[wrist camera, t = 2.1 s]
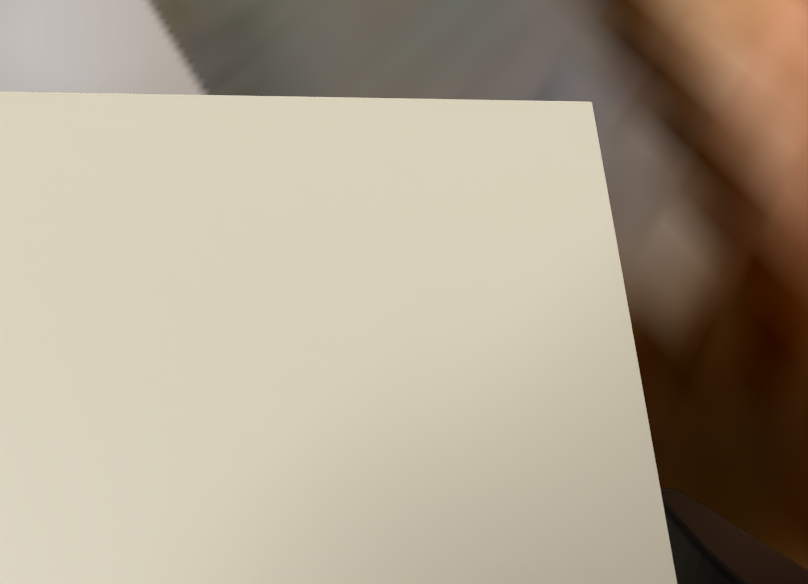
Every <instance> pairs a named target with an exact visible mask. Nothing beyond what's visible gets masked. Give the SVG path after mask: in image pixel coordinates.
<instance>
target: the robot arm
mask: <svg viewBox="0 0 808 584" xmlns="http://www.w3.org/2000/svg"><path fill="white" fill-rule="evenodd" d="M660 489H661V495H662V500H663V506H664V512H665V517H666V523H667V529H668V534H669V540H670V545H671V551H672V557H673V562H674V568H675V574H676V579H677V584H808V570H807V569H805V568H804V567H802V566H801V565H799V564H797V563H796V562H794V561H793V560H791V559H789V558H788V557H786V556H785V555H783V554H781V553H780V552H778V551H777V550H775V549H773V548H772V547H770V546H769V545H767V544H765V543H764V542H762V541H760V540H759V539H757V538H756V537H754V536H752V535H751V534H749V533H748V532H746V531H744V530H743V529H741V528H740V527H738V526H736V525H735V524H733V523H732V522H730V521H728V520H727V519H725V518H724V517H722V516H720V515H719V514H717V513H716V512H714V511H712V510H711V509H709V508H708V507H706V506H704V505H703V504H701V503H699V502H698V501H696V500H695V499H693V498H691V497H690V496H688V495H687V494H685V493H683V492H682V491H680V490H678V489H672V488H660Z"/></svg>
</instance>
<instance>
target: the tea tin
mask: <svg viewBox="0 0 808 584" xmlns="http://www.w3.org/2000/svg"><path fill="white" fill-rule="evenodd" d="M0 584H677V579H676V574H675V568H674V562H673V557H672V551H671V545H670V540H669V534H668V529H667V523H666V517H665V512H664V506H663V500H662V495H661V489H660V484H659V478H658V472H657V467H656V461H655V455H654V450H653V444H652V439H651V433H650V427H649V422H648V416H647V410H646V405H645V399H644V394H643V388H642V382H641V377H640V371H639V365H638V360H637V354H636V349H635V343H634V337H633V332H632V326H631V320H630V315H629V309H628V304H627V298H626V292H625V287H624V281H623V275H622V270H621V264H620V259H619V253H618V247H617V242H616V236H615V230H614V225H613V219H612V214H611V208H610V202H609V197H608V191H607V185H606V180H605V174H604V169H603V163H602V157H601V152H600V146H599V140H598V135H597V129H596V124H595V118H594V112H593V107H592V102H573V101H515V100H457V99H400V98H342V97H284V96H226V95H168V94H167V95H166V94H109V93H106V94H105V93H52V92H0Z"/></svg>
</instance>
